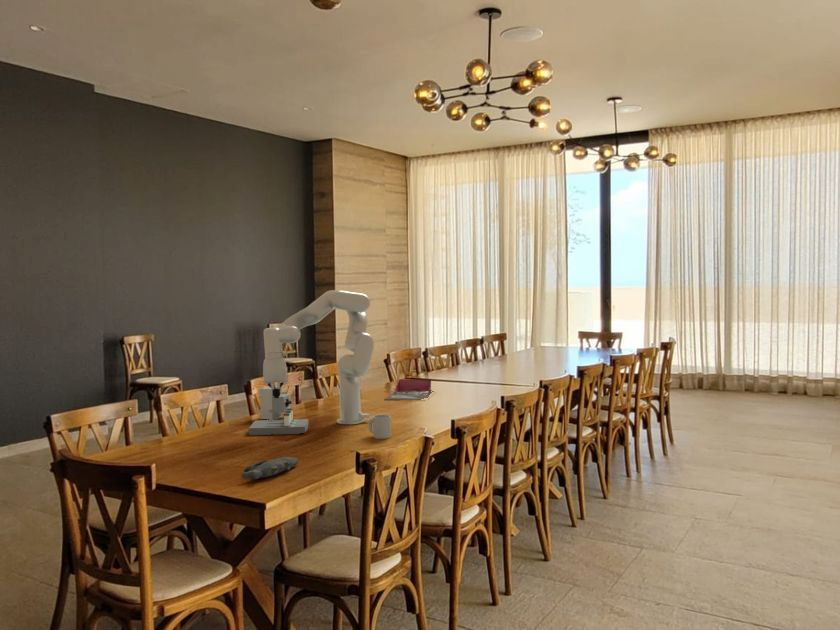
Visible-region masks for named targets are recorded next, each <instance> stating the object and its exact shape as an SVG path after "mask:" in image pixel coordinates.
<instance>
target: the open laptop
mask: <svg viewBox="0 0 840 630" xmlns="http://www.w3.org/2000/svg"><path fill="white" fill-rule="evenodd" d="M431 391H432V379H398V380H397V384H396V386H395V388H394V391H393V392H392V393H390V394H389V395H388V396H386V398H384V399H383V400H384V401H399V400H421V399H424V398H428V397H429V395H430V394H431V393H432V392H434V391H432V392H431Z"/></svg>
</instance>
